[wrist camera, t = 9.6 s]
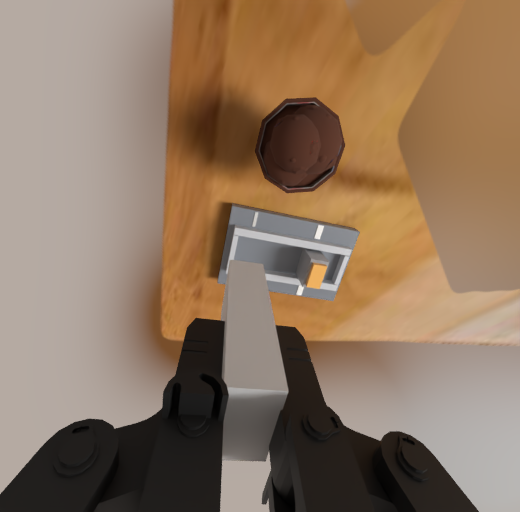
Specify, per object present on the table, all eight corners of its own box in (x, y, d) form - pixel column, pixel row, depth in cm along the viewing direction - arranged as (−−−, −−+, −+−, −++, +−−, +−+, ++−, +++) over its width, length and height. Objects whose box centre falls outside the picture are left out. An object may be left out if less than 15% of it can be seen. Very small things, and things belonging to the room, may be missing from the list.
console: (232, 203, 44) (232, 208, 41) (355, 228, 48) (363, 234, 45) (218, 277, 50) (217, 287, 46) (329, 295, 53) (336, 305, 50)
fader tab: (303, 247, 47) (312, 261, 41) (319, 250, 47) (330, 264, 42) (295, 272, 48) (303, 289, 43) (311, 275, 49) (320, 292, 44)
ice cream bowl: (266, 193, 44) (282, 217, 31) (240, 121, 40) (244, 113, 26) (328, 168, 44) (372, 182, 30) (308, 92, 39) (349, 68, 25)
